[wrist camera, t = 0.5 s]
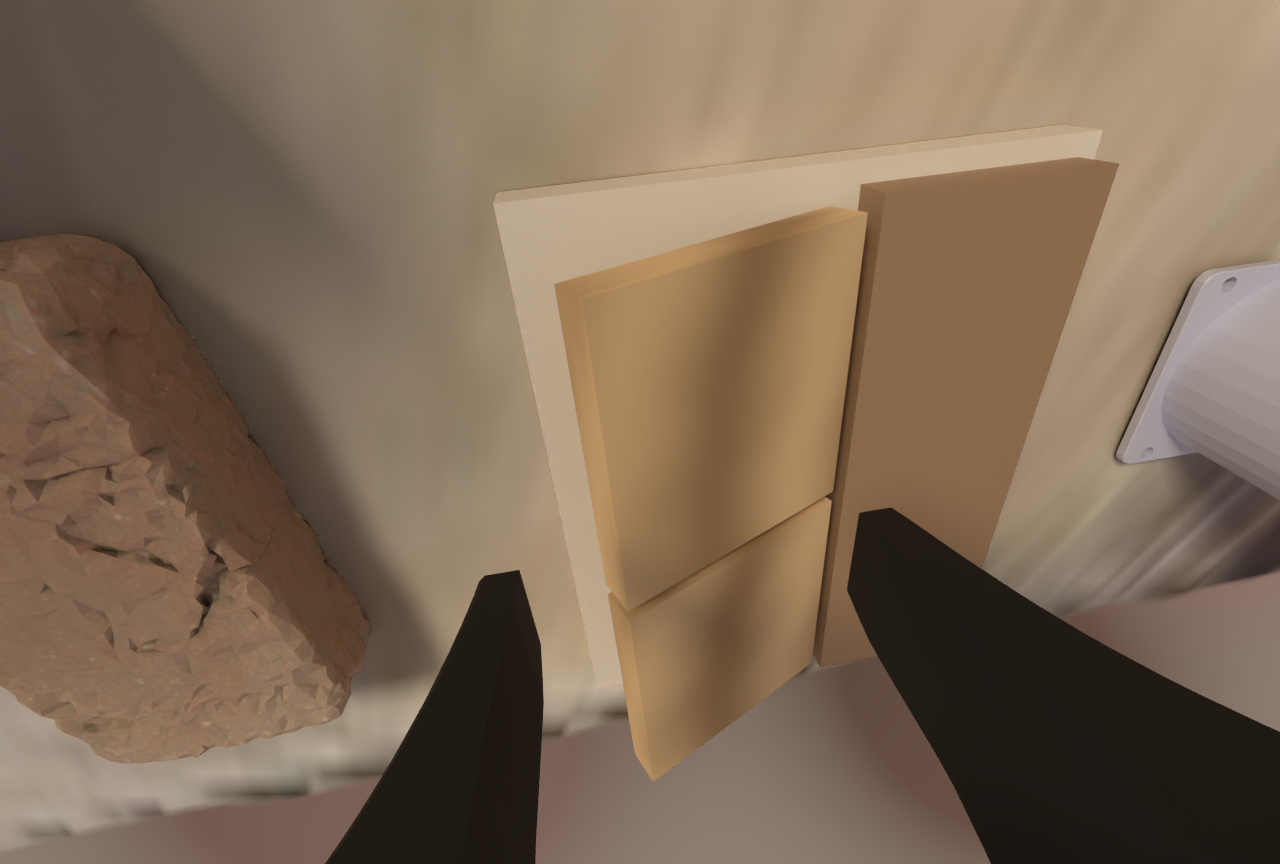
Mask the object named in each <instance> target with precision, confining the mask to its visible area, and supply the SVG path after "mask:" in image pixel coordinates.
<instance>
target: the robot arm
mask: <svg viewBox="0 0 1280 864" xmlns="http://www.w3.org/2000/svg"><path fill="white" fill-rule="evenodd" d="M1192 453H1200V454H1202V455H1203V456H1205V457H1207V458H1209V459H1210V460H1212V461H1214V462H1215V463H1217V464H1219V465H1220V466H1222V467H1224V468H1226V469H1227V470H1229V471H1231V472H1232V473H1234V474H1236V475H1238V476H1239V477H1241V478H1243V479H1244V480H1246V481H1248V482H1249V483H1251V484H1253V485H1255V486H1256V487H1258V488H1260V489H1261V490H1263V491H1265V492H1266V493H1268V494H1270V495H1272V496H1273V497H1275V498H1277V499H1278V500H1280V259H1279V260H1272V261H1265V262H1258V263H1251V264H1244V265H1237V266H1230V267H1223V268H1216V269H1211V270H1208V271H1205V272H1204V273H1202V274H1201V275H1199V276H1198V277H1197V278H1196V279H1195V281H1194V282H1193V284H1192V286H1191V288H1190V290H1189V293H1188V295H1187V297H1186V299H1185V302H1184V304H1183V306H1182V308H1181V310H1180V313H1179V315H1178V317H1177V319H1176V321H1175V324H1174V326H1173V328H1172V330H1171V333H1170V335H1169V337H1168V339H1167V341H1166V344H1165V346H1164V348H1163V350H1162V353H1161V355H1160V357H1159V359H1158V361H1157V364H1156V366H1155V368H1154V370H1153V372H1152V375H1151V377H1150V379H1149V381H1148V384H1147V386H1146V388H1145V390H1144V392H1143V395H1142V397H1141V399H1140V401H1139V403H1138V406H1137V408H1136V410H1135V412H1134V415H1133V417H1132V419H1131V421H1130V423H1129V426H1128V428H1127V430H1126V432H1125V434H1124V437H1123V439H1122V441H1121V443H1120V446H1119V448H1118V450H1117V453H1116V457H1117V459H1119V460H1120V461H1122V462H1123V463H1125V464H1133V463H1139V462H1144V461H1150V460H1156V459H1162V458H1168V457H1174V456H1180V455H1186V454H1192ZM847 592H848V594H849V596H850V599H851V601H852V603H853V606H854V608H855V611H856V613H857V615H858V618H859V620H860V622H861V624H862V626H863V629H864V631H865V633H866V635H867V637H868V640H869V642H870V643H871V645H872V647H873V649H874V650H875V652H876V654H877V656H878V657H879V659H880V661H881V662H882V664H883V666H884V667H885V669H886V671H887V672H888V674H889V676H890V678H891V679H892V681H893V683H894V685H895V686H896V688H897V690H898V691H899V693H900V695H901V696H902V698H903V700H904V701H905V703H906V704H907V706H908V708H909V710H910V711H911V713H912V715H913V716H914V718H915V720H916V721H917V723H918V725H919V726H920V728H921V730H922V731H923V733H924V735H925V736H926V738H927V740H928V741H929V743H930V745H931V746H932V748H933V750H934V752H935V753H936V755H937V757H938V758H939V760H940V762H941V764H942V765H943V767H944V769H945V771H946V773H947V774H948V776H949V778H950V780H951V782H952V784H953V785H954V787H955V789H956V791H957V793H958V795H959V798H960V800H961V802H962V804H963V806H964V808H965V810H966V812H967V814H968V816H969V818H970V820H971V822H972V824H973V826H974V829H975V831H976V833H977V835H978V837H979V839H980V841H981V843H982V845H983V847H984V849H985V852H986V854H987V856H988V858H989V860H990V862H991V864H1280V732H1279V731H1276V730H1274V729H1272V728H1270V727H1267V726H1265V725H1263V724H1261V723H1259V722H1257V721H1255V720H1253V719H1250V718H1248V717H1246V716H1244V715H1242V714H1240V713H1237V712H1236V711H1233V710H1231V709H1229V708H1227V707H1225V706H1223V705H1221V704H1219V703H1216V702H1214V701H1212V700H1210V699H1208V698H1206V697H1204V696H1202V695H1199V694H1197V693H1196V692H1194V691H1192V690H1189V689H1187V688H1185V687H1183V686H1181V685H1179V684H1177V683H1175V682H1173V681H1171V680H1169V679H1167V678H1165V677H1164V676H1162V675H1160V674H1158V673H1156V672H1154V671H1152V670H1150V669H1149V668H1147V667H1145V666H1143V665H1141V664H1139V663H1137V662H1135V661H1134V660H1132V659H1130V658H1128V657H1126V656H1124V655H1122V654H1120V653H1118V652H1117V651H1115V650H1113V649H1111V648H1109V647H1107V646H1106V645H1104V644H1102V643H1100V642H1099V641H1097V640H1095V639H1093V638H1091V637H1090V636H1088V635H1086V634H1085V633H1083V632H1081V631H1079V630H1078V629H1076V628H1074V627H1073V626H1071V625H1069V624H1068V623H1066V622H1064V621H1063V620H1061V619H1059V618H1058V617H1056V616H1054V615H1053V614H1051V613H1049V612H1048V611H1046V610H1044V609H1043V608H1041V607H1040V606H1038V605H1036V604H1035V603H1033V602H1032V601H1030V600H1028V599H1027V598H1025V597H1024V596H1022V595H1021V594H1019V593H1017V592H1016V591H1014V590H1013V589H1011V588H1010V587H1008V586H1007V585H1005V584H1003V583H1002V582H1000V581H999V580H997V579H996V578H994V577H993V576H991V575H990V574H988V573H987V572H985V571H984V570H982V569H981V568H979V567H978V566H976V565H975V564H973V563H972V562H970V561H969V560H968V559H966V558H965V557H963V556H962V555H960V554H959V553H957V552H956V551H954V550H953V549H952V548H950V547H949V546H947V545H946V544H944V543H943V542H941V541H940V540H938V539H937V538H936V537H934V536H933V535H931V534H930V533H928V532H927V531H926V530H924V529H923V528H921V527H920V526H918V525H917V524H915V523H914V522H912V521H911V520H910V519H908V518H907V517H905V516H904V515H902V514H901V513H899V512H898V511H896V510H895V509H893V508H892V507H890V508H884V509H878V510H872V511H866V512H860V513H859V517H858V523H857V529H856V535H855V542H854V548H853V554H852V560H851V566H850V573H849V579H848V585H847ZM543 703H544V701H543V678H542V659H541V644H540V640H539V637H538V633H537V630H536V626H535V623H534V619H533V616H532V612H531V609H530V605H529V602H528V598H527V595H526V592H525V588H524V585H523V581H522V578H521V574H520V571H519V570H517V571H511V572H505V573H499V574H493V575H487V576H484V577H483V578H482V579H481V580H480V581H479V584H478V586H477V589H476V592H475V594H474V597H473V599H472V602H471V604H470V607H469V609H468V611H467V614H466V616H465V618H464V621H463V623H462V625H461V628H460V630H459V632H458V634H457V636H456V639H455V641H454V643H453V645H452V647H451V649H450V652H449V654H448V656H447V658H446V660H445V662H444V664H443V666H442V668H441V670H440V672H439V674H438V676H437V678H436V680H435V682H434V684H433V686H432V688H431V690H430V692H429V694H428V696H427V698H426V700H425V702H424V704H423V705H422V707H421V709H420V711H419V713H418V714H417V716H416V718H415V720H414V722H413V723H412V725H411V727H410V729H409V731H408V732H407V734H406V736H405V738H404V740H403V741H402V743H401V745H400V747H399V749H398V750H397V752H396V754H395V756H394V757H393V759H392V761H391V763H390V764H389V766H388V768H387V769H386V771H385V773H384V774H383V776H382V778H381V779H380V781H379V782H378V784H377V786H376V787H375V789H374V791H373V792H372V794H371V795H370V797H369V799H368V800H367V802H366V803H365V805H364V806H363V808H362V809H361V811H360V813H359V814H358V816H357V817H356V819H355V820H354V822H353V823H352V825H351V827H350V828H349V830H348V831H347V833H346V834H345V836H344V837H343V839H342V840H341V841H340V843H339V844H338V846H337V847H336V849H335V850H334V852H333V853H332V855H331V856H330V857H329V859H328V860H327V862H326V863H325V864H535V854H536V828H537V812H538V794H539V777H540V758H541V741H542V723H543Z"/></svg>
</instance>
